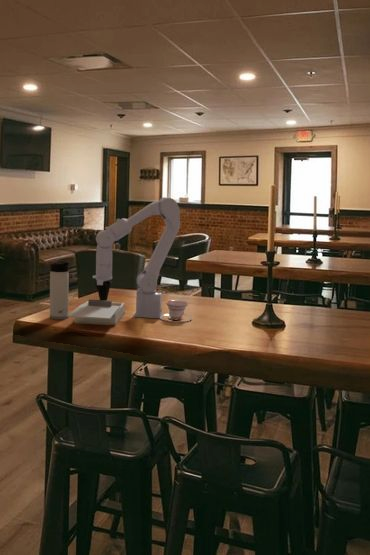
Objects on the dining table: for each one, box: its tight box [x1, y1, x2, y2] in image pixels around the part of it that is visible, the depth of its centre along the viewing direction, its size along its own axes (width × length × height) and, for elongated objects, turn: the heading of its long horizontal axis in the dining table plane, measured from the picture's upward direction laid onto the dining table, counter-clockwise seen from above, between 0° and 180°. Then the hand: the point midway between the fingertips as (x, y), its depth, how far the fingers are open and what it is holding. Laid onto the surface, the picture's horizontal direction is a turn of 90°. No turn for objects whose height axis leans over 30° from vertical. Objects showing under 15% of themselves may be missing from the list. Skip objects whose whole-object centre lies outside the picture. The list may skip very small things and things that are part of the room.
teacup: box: [158, 299, 193, 323], centre depth 193 cm, size 12×12×6 cm
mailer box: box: [74, 300, 126, 326], centre depth 189 cm, size 14×18×4 cm
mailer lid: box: [67, 298, 120, 320], centre depth 179 cm, size 14×18×2 cm
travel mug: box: [49, 261, 70, 321], centre depth 185 cm, size 6×7×20 cm
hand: (103, 301), depth 192 cm, fingers closed
